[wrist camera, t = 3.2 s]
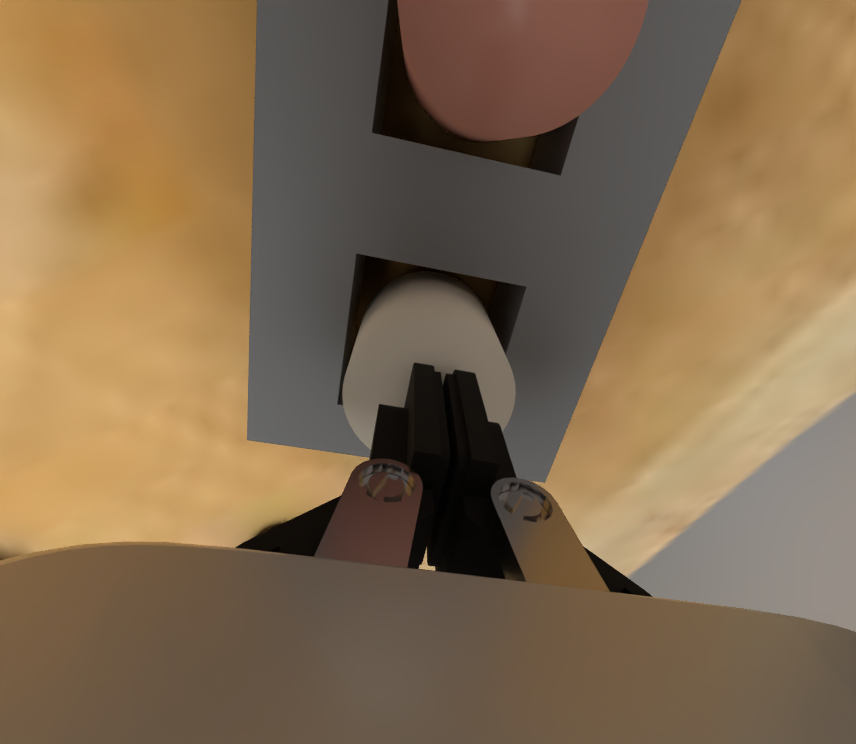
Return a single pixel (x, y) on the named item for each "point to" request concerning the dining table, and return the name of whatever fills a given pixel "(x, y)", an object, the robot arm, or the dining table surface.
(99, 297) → the dining table surface
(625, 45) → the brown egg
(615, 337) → the dining table surface
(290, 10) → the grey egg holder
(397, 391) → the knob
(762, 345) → the dining table surface
